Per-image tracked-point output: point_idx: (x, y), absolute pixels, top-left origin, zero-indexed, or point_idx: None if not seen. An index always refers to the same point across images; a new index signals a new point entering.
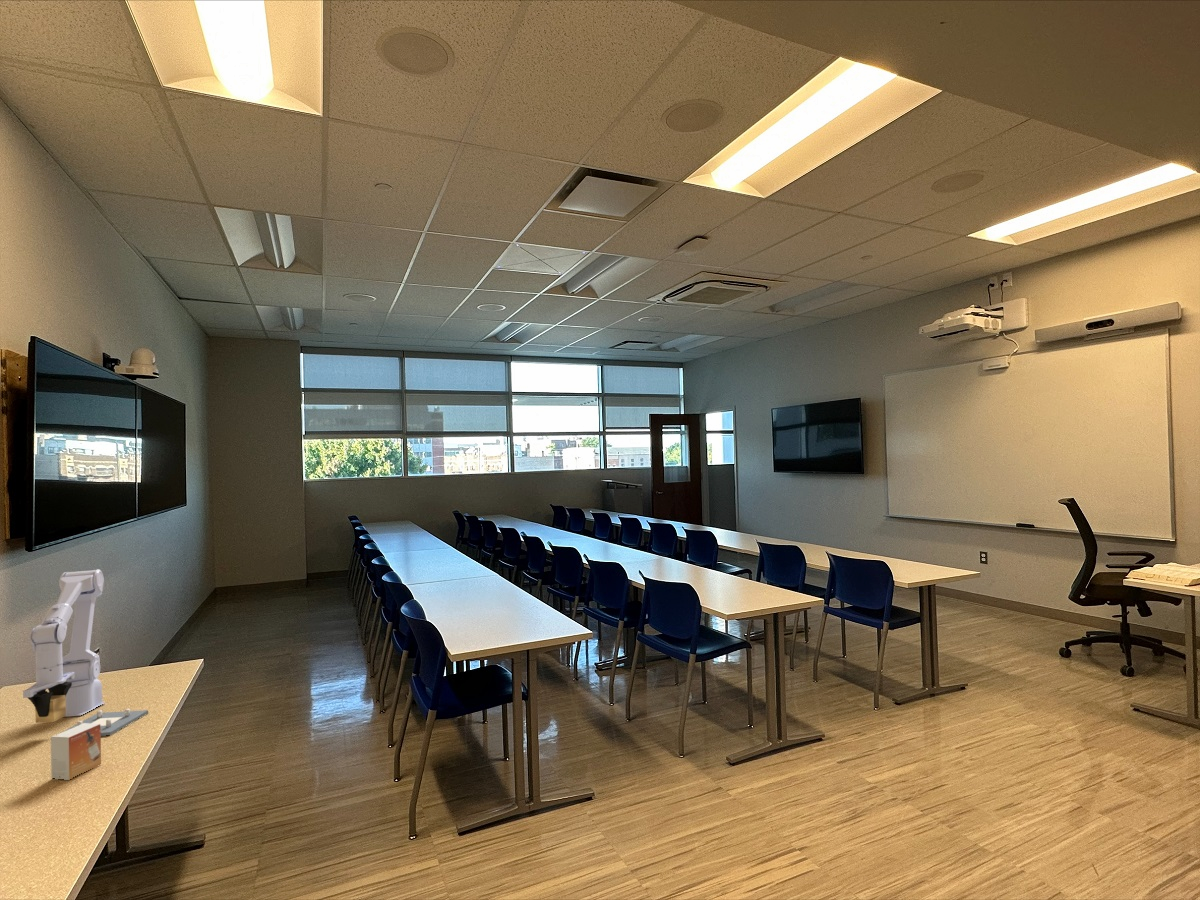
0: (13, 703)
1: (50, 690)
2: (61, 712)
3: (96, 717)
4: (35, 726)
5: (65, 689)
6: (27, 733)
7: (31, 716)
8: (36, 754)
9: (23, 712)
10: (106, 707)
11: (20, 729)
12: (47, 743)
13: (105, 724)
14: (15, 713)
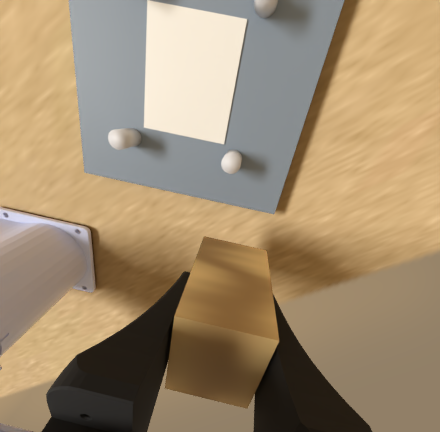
0: (22, 385)
1: (148, 419)
2: (223, 255)
3: (128, 153)
4: (148, 306)
5: (149, 356)
6: None
7: (85, 337)
8: (408, 202)
9: (63, 357)
10: (21, 185)
11: None
12: (306, 216)
13: (228, 46)
14: None
